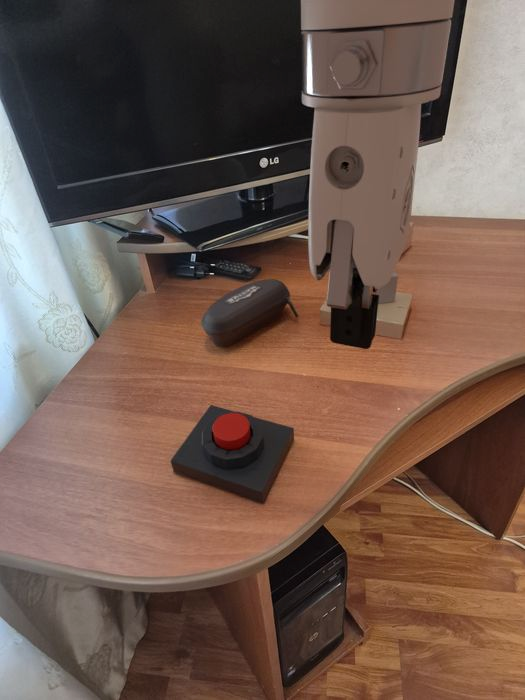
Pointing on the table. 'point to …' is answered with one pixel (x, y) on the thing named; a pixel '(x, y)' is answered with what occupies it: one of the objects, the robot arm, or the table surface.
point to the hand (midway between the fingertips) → (352, 339)
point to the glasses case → (245, 311)
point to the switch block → (235, 456)
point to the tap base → (382, 315)
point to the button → (231, 431)
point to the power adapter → (409, 238)
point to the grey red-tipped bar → (388, 290)
